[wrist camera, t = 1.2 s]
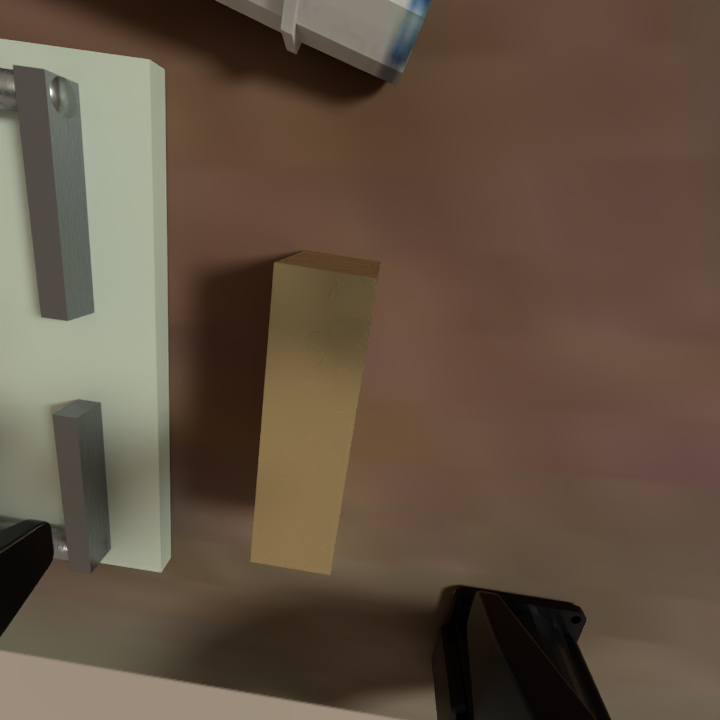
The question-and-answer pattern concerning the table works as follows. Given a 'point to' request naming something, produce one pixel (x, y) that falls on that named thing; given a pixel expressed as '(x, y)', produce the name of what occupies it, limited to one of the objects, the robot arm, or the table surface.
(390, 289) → the table surface
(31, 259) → the base board
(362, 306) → the link bar
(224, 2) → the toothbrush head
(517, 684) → the robot arm
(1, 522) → the chain end links
